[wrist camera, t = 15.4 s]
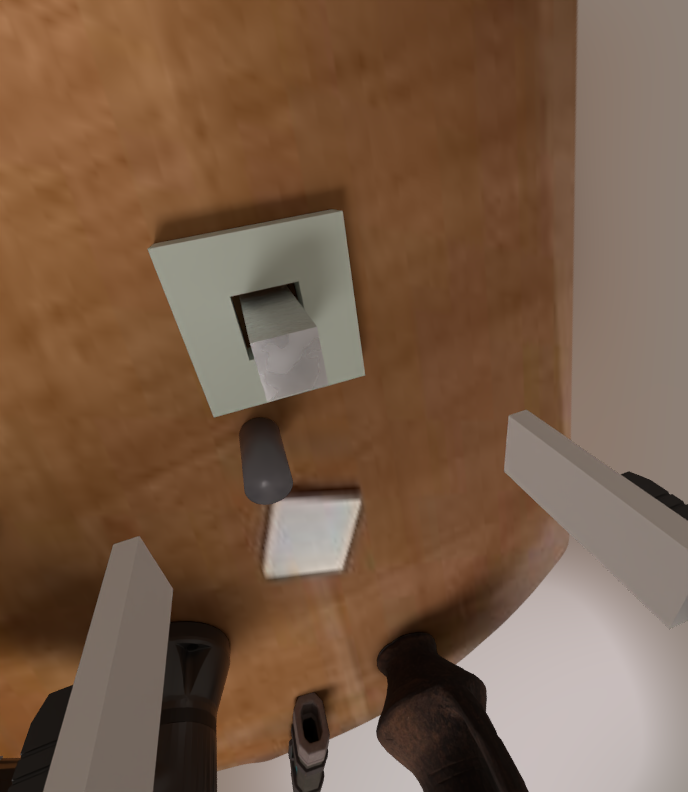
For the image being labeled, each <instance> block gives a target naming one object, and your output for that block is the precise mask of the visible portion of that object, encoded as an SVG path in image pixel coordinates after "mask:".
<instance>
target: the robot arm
mask: <svg viewBox="0 0 688 792" xmlns="http://www.w3.org/2000/svg"><path fill="white" fill-rule="evenodd" d="M504 472H505V473H506V474H507V475H508V476H509V477H511V478H512V479H513V480H514V481H515V482H516V483H517V484H518V485H519V486H520V487H521V488H522V489H523V490H524V491H525V492H526V493H527V494H528V495H529V496H530V497H531V498H533V499H534V500H535V501H536V502H537V503H538V504H539V505H540V506H541V507H542V508H543V509H544V510H545V511H546V512H547V513H548V514H549V515H550V516H551V517H552V518H554V519H555V520H556V521H557V522H558V523H559V524H560V525H561V526H562V527H563V528H564V529H565V530H566V531H567V532H568V533H569V534H570V535H571V536H572V537H573V538H575V539H576V540H577V541H578V542H579V543H580V544H581V545H582V546H583V547H584V548H585V549H586V550H587V551H588V552H589V553H590V554H591V555H592V556H593V557H594V558H595V559H597V560H598V561H599V562H600V563H601V564H602V565H603V566H604V567H605V568H606V569H607V570H608V571H609V572H610V573H611V574H612V575H613V576H614V577H615V578H616V579H617V580H618V581H620V582H621V583H622V584H623V585H624V586H625V587H626V588H627V589H628V590H629V591H630V592H631V593H632V594H633V595H634V596H635V597H636V598H637V599H638V600H639V601H640V602H642V603H643V604H644V605H645V606H646V607H647V608H648V609H649V610H650V611H651V612H652V613H653V614H654V615H655V616H656V617H657V618H658V619H659V620H661V621H662V622H663V623H664V624H665V625H666V626H667V627H668V628H669V629H671V628H673V627H675V626H677V625H679V624H681V623H684V622H686V621H688V504H687V505H685V504H684V502H683V501H681V500H680V499H679V498H677V497H675V496H674V495H673V494H671V495H670V494H669V493H668V491H666V490H665V489H663V488H662V487H660V486H659V485H657V484H656V483H654V482H653V481H651V480H649V479H647V478H644V477H642V476H639V475H637V474H634V473H631V472H626V473H624V474H619V473H618V472H616V471H615V470H613V469H612V468H610V467H609V466H607V465H606V464H604V463H603V462H602V461H600V460H599V459H597V458H596V457H594V456H593V455H591V454H590V453H588V452H587V451H586V450H584V449H583V448H581V447H580V446H578V445H577V444H575V443H574V442H573V441H571V440H570V439H568V438H567V437H565V436H564V435H562V434H561V433H560V432H558V431H557V430H555V429H554V428H552V427H551V426H549V425H548V424H547V423H545V422H544V421H542V420H541V419H539V418H538V417H536V416H535V415H533V414H532V413H531V412H529V411H528V410H524V411H521V412H518V413H515V414H512V415H509V419H508V431H507V442H506V454H505V466H504ZM172 596H173V588H172V586H171V585H170V583H169V582H168V580H167V579H166V577H165V575H164V574H163V572H162V571H161V569H160V567H159V566H158V564H157V563H156V561H155V560H154V558H153V556H152V555H151V553H150V552H149V550H148V549H147V547H146V545H145V544H144V542H143V541H142V539H141V538H140V536H138V537H135V538H132V539H129V540H125V541H122V542H119V543H116V544H113V547H112V551H111V554H110V558H109V561H108V565H107V568H106V572H105V575H104V579H103V582H102V586H101V589H100V593H99V596H98V600H97V603H96V607H95V611H94V614H93V618H92V621H91V625H90V628H89V632H88V635H87V639H86V642H85V646H84V649H83V653H82V656H81V660H80V663H79V667H78V670H77V674H76V677H75V681H74V685H72V686H69V687H66V688H64V689H61V690H58V691H56V692H53V693H51V694H49V695H48V697H47V699H46V700H45V702H44V704H43V705H42V707H41V708H40V710H39V712H38V713H37V715H36V716H35V718H34V720H33V721H32V723H31V725H30V728H29V731H28V734H27V737H26V740H25V742H24V745H23V748H22V751H21V754H20V755H21V758H3V756H0V792H217V738H216V717H217V711H218V708H219V704H220V700H221V696H222V693H223V689H224V685H225V681H226V678H227V674H228V670H229V665H230V646H229V641H228V639H227V637H226V636H225V634H224V633H223V632H221V631H220V630H219V629H217V628H215V627H213V626H210V625H207V624H203V623H196V622H175V623H170V616H171V606H172Z"/></svg>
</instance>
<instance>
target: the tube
mask: <svg viewBox="0 0 688 792" xmlns="http://www.w3.org/2000/svg"><path fill="white" fill-rule="evenodd" d="M291 734H292V739H291V740H290V741H289V752H288V754H289V759H290V764H291V777H292V785H293V792H320V791H321V788H322V784H323V781H324V771H323V770H324V766H325V763H326V759H327V757H328V743H329V736H330V734H329V729H328V724H327V720H326V715H325V710H324V706H323V701H322V700H321V699H320V698H319V697H318V696H317V695H316V694H315V693H314V692H313V693H309V694H306V695H302V696H299V697H298V700H297V702H296V705H295V707H294V713H293V724H292V728H291Z"/></svg>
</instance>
